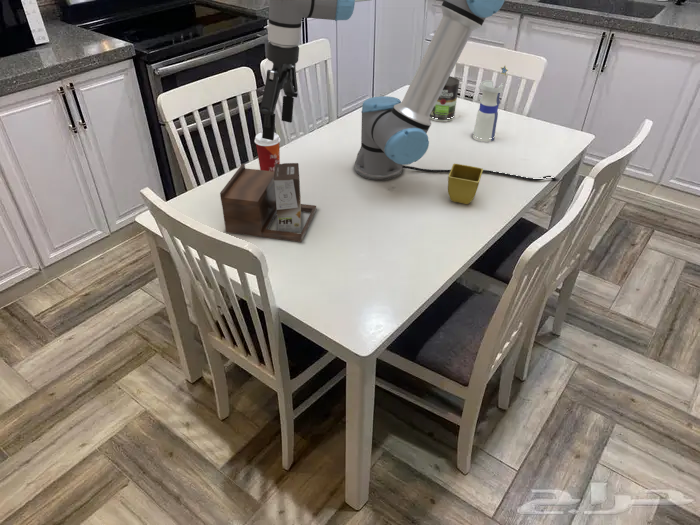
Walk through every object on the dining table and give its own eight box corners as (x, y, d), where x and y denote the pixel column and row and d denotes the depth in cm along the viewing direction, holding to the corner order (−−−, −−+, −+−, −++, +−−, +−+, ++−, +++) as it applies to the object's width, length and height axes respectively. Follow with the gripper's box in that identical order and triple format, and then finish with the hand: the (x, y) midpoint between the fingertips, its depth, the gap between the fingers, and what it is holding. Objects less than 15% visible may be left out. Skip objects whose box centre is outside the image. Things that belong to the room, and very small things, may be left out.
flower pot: (478, 194, 161) (483, 167, 155) (474, 209, 154) (479, 182, 149) (449, 189, 163) (453, 162, 158) (444, 203, 157) (447, 176, 151)
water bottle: (477, 130, 197) (488, 60, 182) (498, 136, 193) (512, 66, 178) (467, 137, 192) (478, 67, 176) (489, 144, 188) (502, 72, 173)
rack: (316, 210, 153) (315, 172, 146) (301, 242, 141) (299, 202, 133) (246, 201, 156) (242, 164, 149) (226, 232, 144) (219, 193, 136)
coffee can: (454, 123, 202) (459, 86, 193) (426, 120, 203) (430, 84, 194) (454, 112, 210) (459, 76, 201) (428, 110, 211) (432, 74, 202)
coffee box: (301, 232, 144) (299, 179, 134) (278, 233, 144) (273, 180, 134) (301, 213, 152) (298, 162, 142) (278, 214, 151) (274, 163, 141)
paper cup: (278, 185, 164) (275, 143, 155) (255, 182, 165) (250, 140, 156) (286, 173, 170) (283, 131, 161) (263, 170, 171) (259, 129, 162)
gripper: (286, 30, 136) (280, 111, 148) (247, 51, 116) (244, 143, 128) (314, 36, 135) (306, 117, 147) (280, 58, 115) (274, 150, 127)
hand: (277, 129), depth 137 cm, fingers open, 13 cm apart
